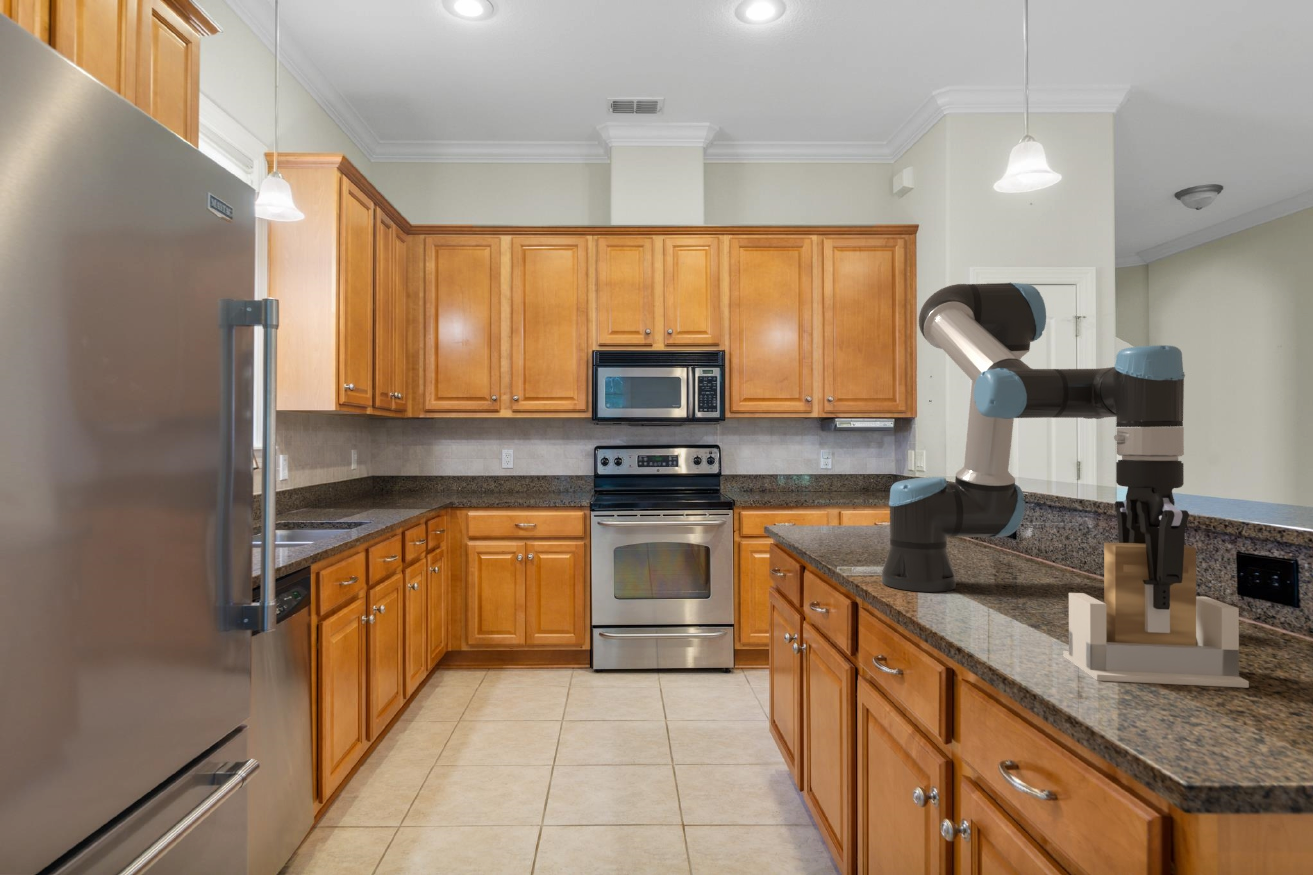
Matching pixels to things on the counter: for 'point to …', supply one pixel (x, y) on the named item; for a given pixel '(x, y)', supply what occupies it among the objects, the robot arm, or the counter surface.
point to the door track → (1157, 648)
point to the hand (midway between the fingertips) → (1149, 627)
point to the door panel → (1128, 597)
